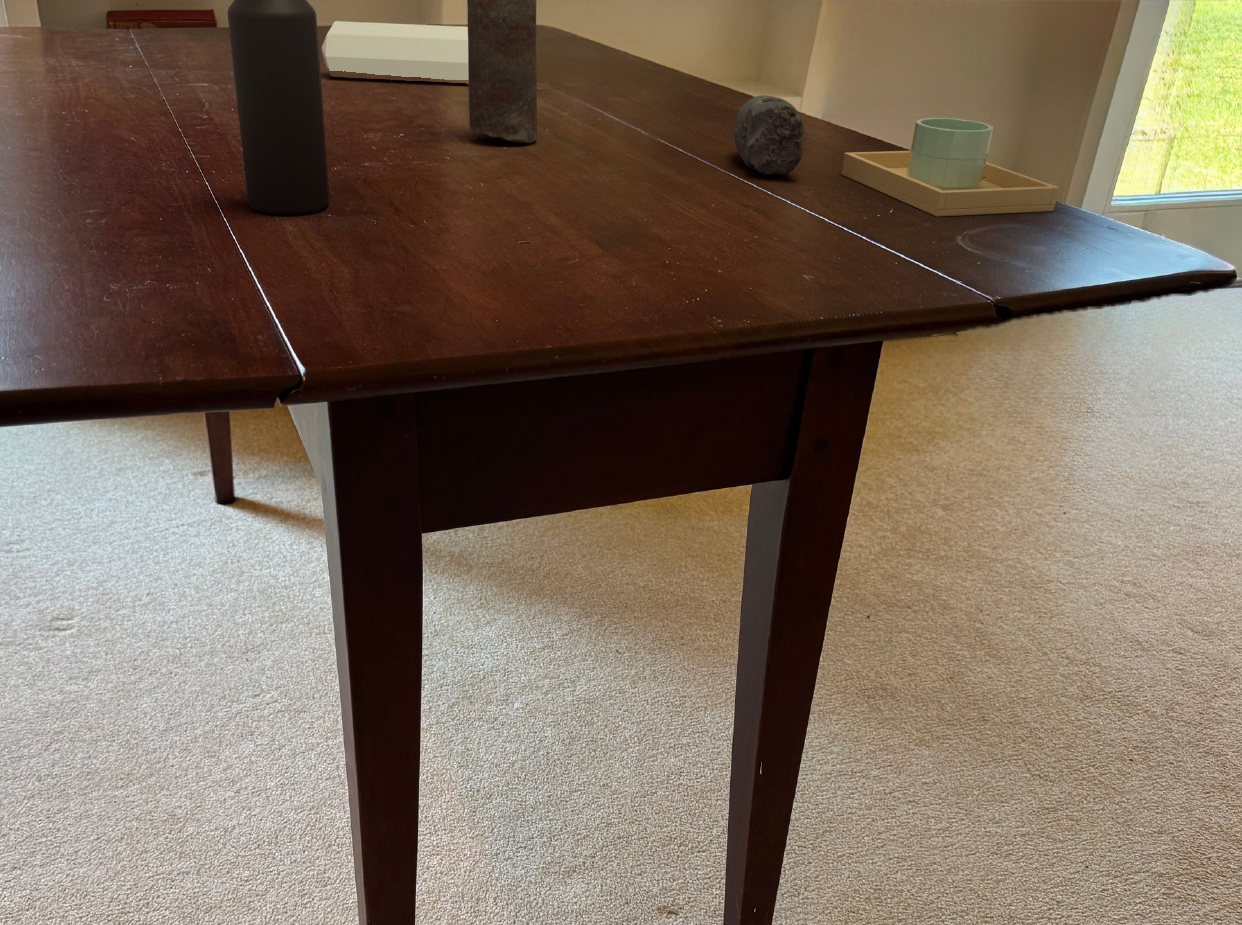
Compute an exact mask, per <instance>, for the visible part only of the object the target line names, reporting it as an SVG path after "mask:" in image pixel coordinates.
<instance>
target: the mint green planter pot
mask: <svg viewBox="0 0 1242 925" xmlns="http://www.w3.org/2000/svg"><path fill="white" fill-rule="evenodd" d="M993 133H994V126H992V125H991V124H988V123H985V122H982V121H976V120H970V119H962V118H953V117H952V118H951V117H927V118H920V119H918V120H916V121H915V125H914V131H913V136H912V142H911V147H910V151H911V152H910V157H909V162H908V168H907V173H906V176H908V177H911V178H913V179H916V180H918V181H921V182H923V183H926V184H928V185H930V186H933V187H935V188H938V189H940V190H943V191H948V190H972V189H977V186H979V185H980V184H981V182H982V177H983V173H984V168H985V164H986V162H987V159H988V156H989V150H990V146H991V142H992V136H993Z"/></svg>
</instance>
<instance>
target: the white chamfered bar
mask: <svg viewBox="0 0 1242 925" xmlns="http://www.w3.org/2000/svg"><path fill="white" fill-rule="evenodd" d="M321 54H322V58H323V61H324V65H325V67H327V68H328V69H329V71H343V72H344V71H346V72H356V73H367V74H375V75H391V76H401V77H421V78H431V79H441V80H442V79H444V80H469V76H468V26H457V25H456V26H455V25H435V24H412V23H408V24H407V23H389V22H368V21H367V22H366V21H365V22H363V21H344V20H343V21H342V20H341V21H339V20H335V21H334V22H333V23H332V26H331V27H330V28H329V30H328V32H327V33H326V36H325V38H324V41H323V43H322V46H321ZM327 68H326V69H327Z"/></svg>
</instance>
